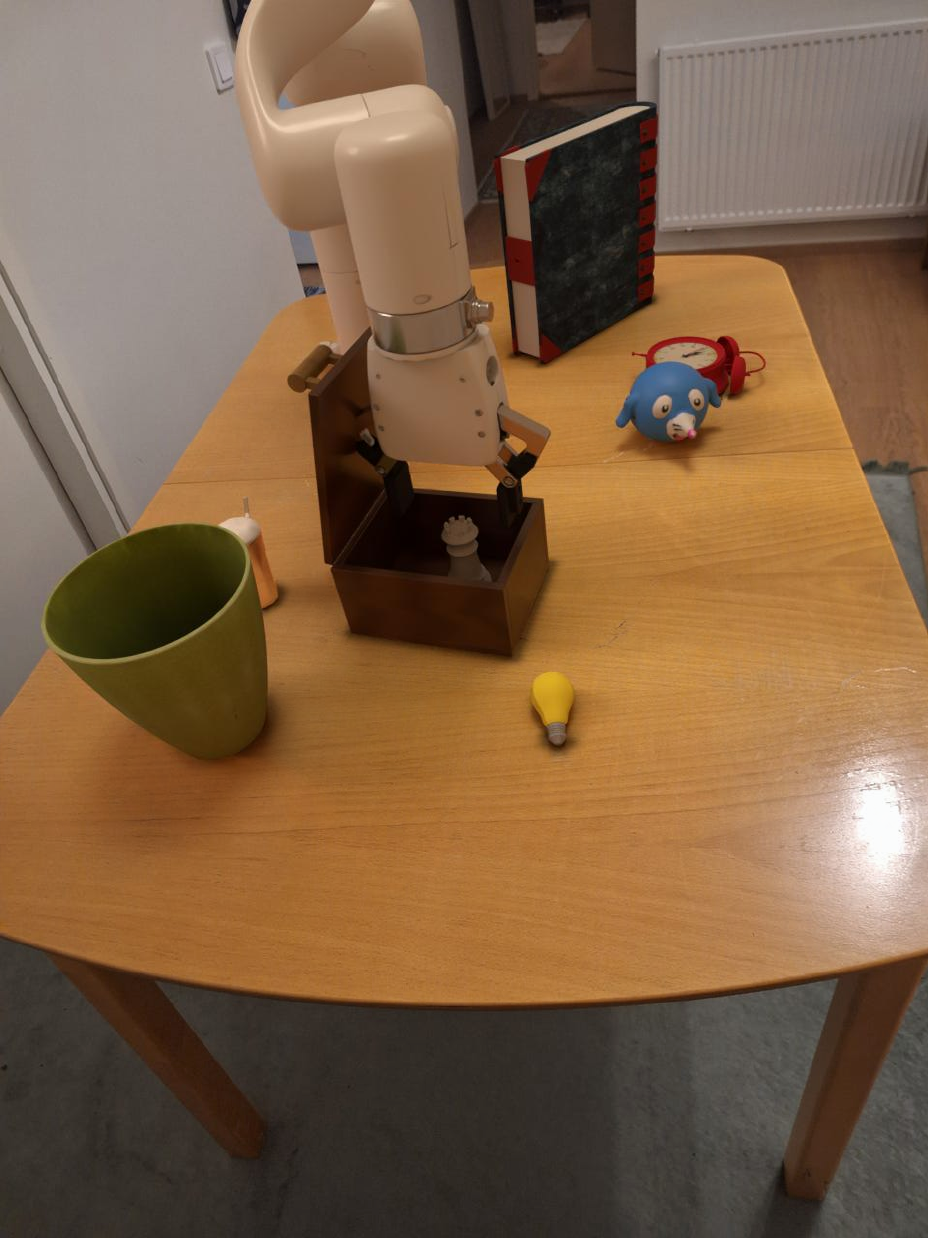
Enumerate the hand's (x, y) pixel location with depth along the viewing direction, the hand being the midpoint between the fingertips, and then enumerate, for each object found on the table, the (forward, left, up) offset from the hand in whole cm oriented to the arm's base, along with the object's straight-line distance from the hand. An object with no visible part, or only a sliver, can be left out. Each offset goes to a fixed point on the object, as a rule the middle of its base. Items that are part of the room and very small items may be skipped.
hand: (456, 511), depth 69 cm
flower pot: (-16, -19, -10) cm, 27 cm away
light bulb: (+11, -13, -10) cm, 20 cm away
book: (-2, +59, -10) cm, 60 cm away
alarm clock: (+15, +43, -10) cm, 46 cm away
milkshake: (-21, -3, -10) cm, 23 cm away
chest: (-2, 0, -10) cm, 10 cm away
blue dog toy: (+14, +29, -10) cm, 33 cm away
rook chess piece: (0, 0, -9) cm, 9 cm away
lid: (-8, 0, +6) cm, 10 cm away
